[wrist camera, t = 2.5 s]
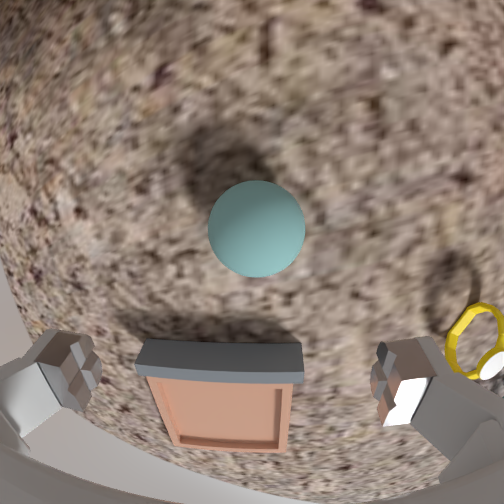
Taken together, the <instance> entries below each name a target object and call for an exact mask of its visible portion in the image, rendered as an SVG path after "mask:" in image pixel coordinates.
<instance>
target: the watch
mask: <svg viewBox="0 0 504 504" xmlns="http://www.w3.org/2000/svg"><path fill="white" fill-rule="evenodd" d="M485 311H489V312H492V313H493V314H494V316H495V317H496V319H497V323H498V335H499V336H498V339H497V342H496V345H495V347H494V348H493V349H491V350H489V351H488V352H487V353H486V354H485V355H484V356H483V357H482V358H481V360H480V361H479V362H478V365H477V367H476V370H473V371H470V372H467V373H465V372H463V371H462V369H461V368H460V366H459V365H458V364H457V359H456V351H455V349H456V345H457V341H458V336H459V335H460V334H461V333H462V331H463V330H464V329H465V328H466V326H467V325H468V324H469V323H470V321H471V320H472V319H473V318H474V316H475V315H476V314H478V313H481V312H485ZM445 359H446V360H447V362H448V364H449V365H450V367H451V369H452V370H453V372H454V373H457V372H459V373H461V374H462V375H464V376H466V377H468V378H469V379H471V380H472V379H473V380H474V379H477V378H480V379H481V380H487V379H490V378H492V377H493V376H495V375H496V374H497V373H498V372H499V371H500V370H501V369H502V368H503V366H504V316H503V314H502V313H501V312H500V310H498V309H497V308H495V307H494V306H492V305H490V304H486V303H483V302H481V303H480V302H479V303H476V304H473V305H470V306H468V307H467V309H466V310H465V312H464V313H463V314H462V315H461V317H460V318H459V320H458V321H457V322H456V323H455V325H454V326H453V327H452V328H451V330H450V331H449V332H448V334H447V339H446V343H445Z"/></svg>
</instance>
